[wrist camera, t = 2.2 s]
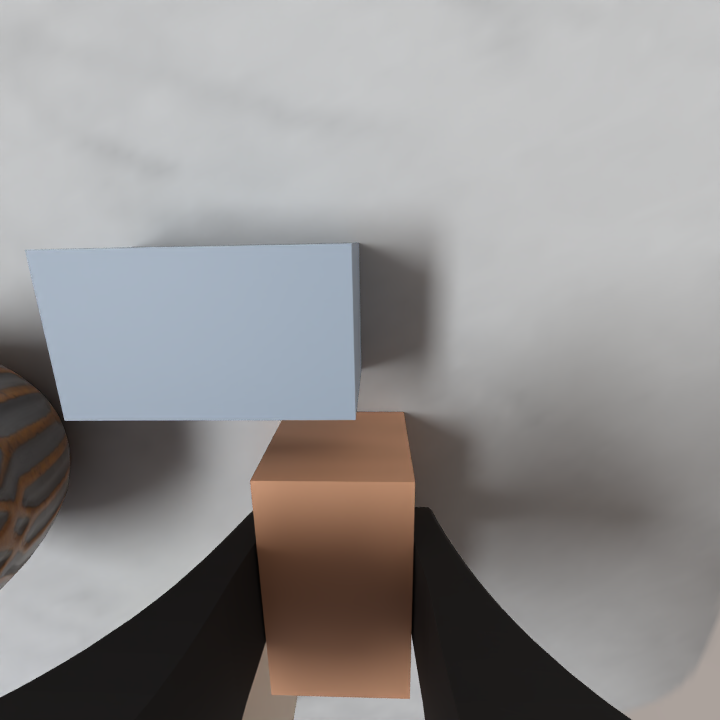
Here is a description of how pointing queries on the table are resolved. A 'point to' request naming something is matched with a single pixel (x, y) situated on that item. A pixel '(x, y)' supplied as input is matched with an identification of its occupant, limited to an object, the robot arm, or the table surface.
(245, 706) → the robot arm
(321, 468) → the terracotta brick
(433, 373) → the table surface
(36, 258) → the slate brick
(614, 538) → the table surface
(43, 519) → the vase
